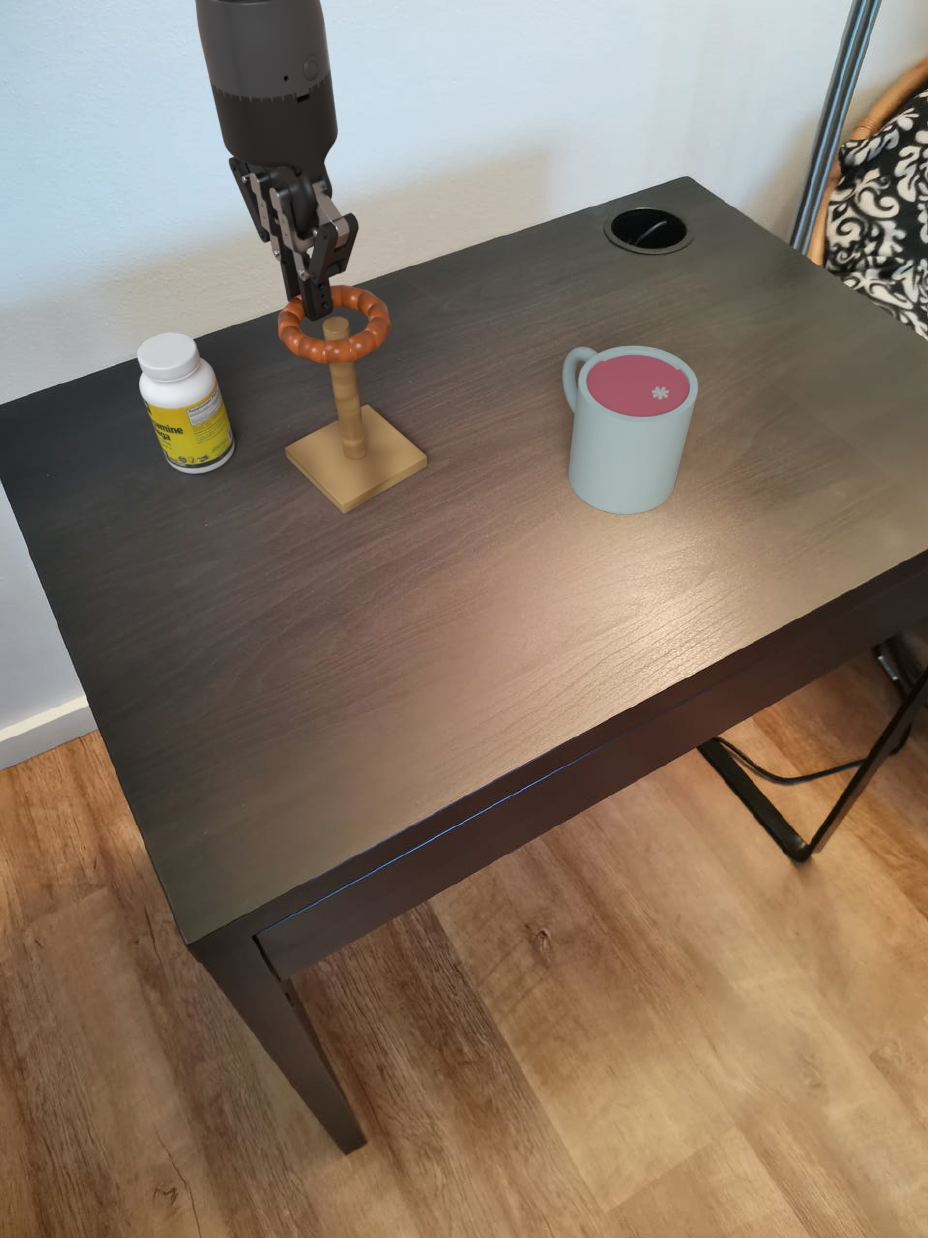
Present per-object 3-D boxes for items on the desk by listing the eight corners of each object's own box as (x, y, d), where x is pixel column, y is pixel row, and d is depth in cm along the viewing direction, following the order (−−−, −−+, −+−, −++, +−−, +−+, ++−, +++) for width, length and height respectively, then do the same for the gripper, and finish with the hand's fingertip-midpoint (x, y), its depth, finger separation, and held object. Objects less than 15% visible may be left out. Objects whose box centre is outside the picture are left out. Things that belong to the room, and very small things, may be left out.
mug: (697, 487, 76) (723, 394, 68) (609, 529, 73) (625, 438, 65) (602, 397, 83) (615, 304, 75) (519, 433, 80) (523, 340, 72)
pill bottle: (152, 453, 79) (110, 351, 70) (208, 419, 82) (174, 316, 73) (194, 487, 77) (156, 384, 68) (250, 450, 79) (221, 347, 70)
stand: (344, 514, 74) (319, 378, 63) (286, 457, 79) (253, 319, 67) (428, 465, 78) (419, 328, 66) (368, 413, 82) (350, 275, 70)
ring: (320, 382, 64) (317, 364, 63) (259, 327, 68) (255, 309, 66) (412, 337, 67) (411, 318, 66) (349, 286, 71) (347, 268, 70)
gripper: (161, 45, 56) (224, 287, 70) (276, 122, 50) (320, 372, 64) (262, 14, 59) (303, 253, 73) (383, 83, 53) (402, 331, 67)
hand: (311, 307), depth 69 cm, fingers closed on ring, 2 cm apart
